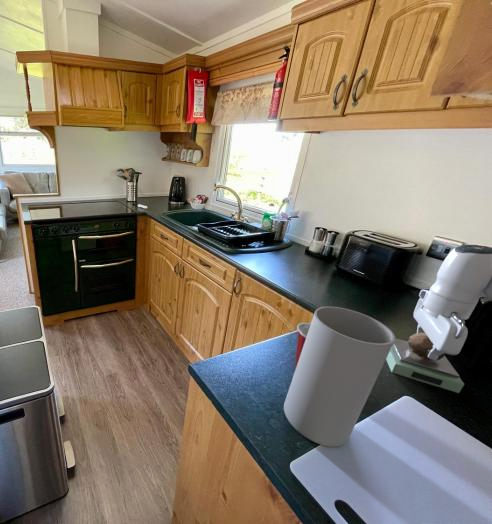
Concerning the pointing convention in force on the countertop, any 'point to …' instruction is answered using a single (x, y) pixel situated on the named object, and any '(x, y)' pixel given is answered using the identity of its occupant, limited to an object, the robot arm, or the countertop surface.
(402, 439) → the countertop surface
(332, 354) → the cylinder vase
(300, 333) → the plastic cup
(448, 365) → the scale pan
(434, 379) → the scale base
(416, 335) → the brown potato
